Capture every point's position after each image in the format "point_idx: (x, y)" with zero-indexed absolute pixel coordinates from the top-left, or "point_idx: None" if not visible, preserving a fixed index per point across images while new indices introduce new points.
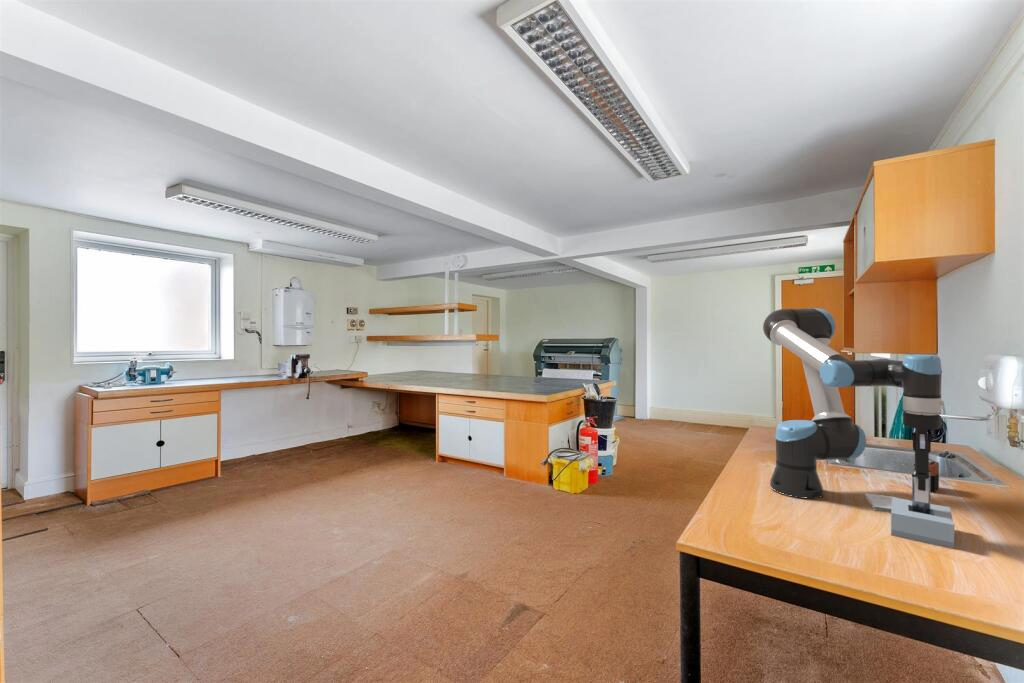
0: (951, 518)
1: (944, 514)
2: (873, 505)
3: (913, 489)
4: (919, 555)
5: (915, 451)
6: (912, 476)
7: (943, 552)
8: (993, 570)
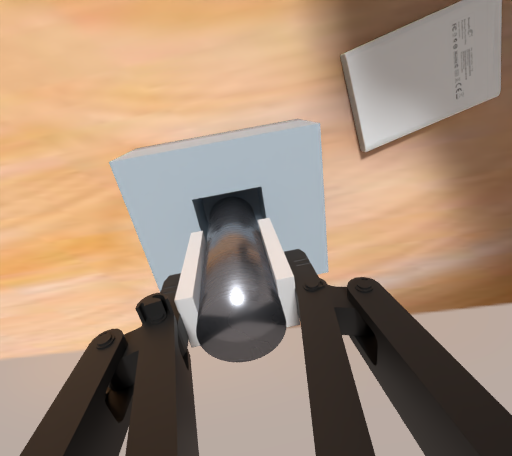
0: None
1: None
2: (359, 48)
3: (214, 243)
4: (55, 226)
5: (317, 448)
6: (145, 300)
7: (131, 256)
8: (120, 323)
